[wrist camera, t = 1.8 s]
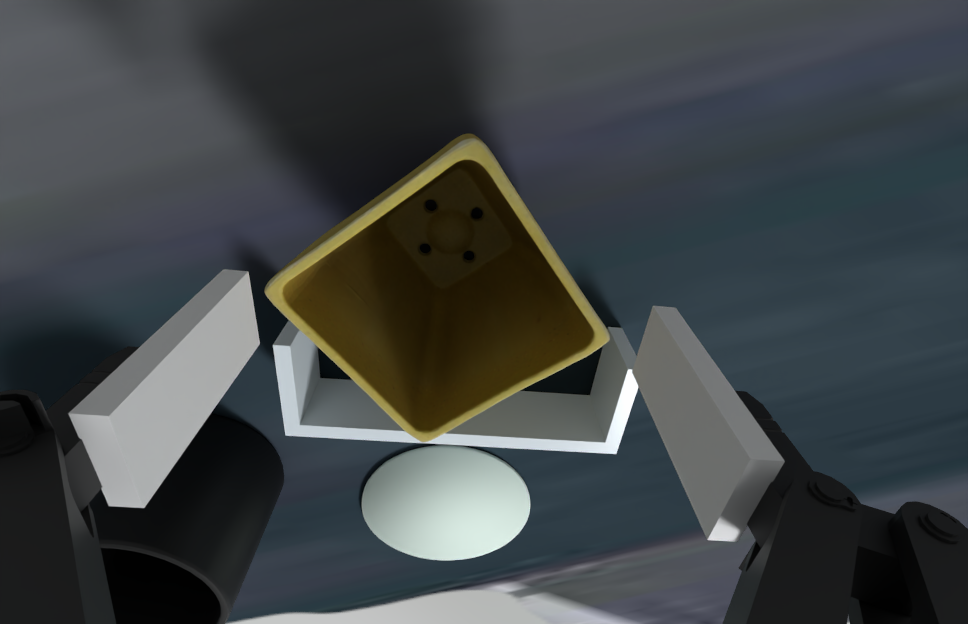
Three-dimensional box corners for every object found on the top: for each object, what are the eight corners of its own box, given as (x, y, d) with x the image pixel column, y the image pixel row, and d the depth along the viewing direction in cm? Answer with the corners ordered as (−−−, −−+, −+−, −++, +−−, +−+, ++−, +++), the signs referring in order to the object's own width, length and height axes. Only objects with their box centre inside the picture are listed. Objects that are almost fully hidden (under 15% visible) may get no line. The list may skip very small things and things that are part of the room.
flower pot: (475, 95, 21) (477, 130, 13) (571, 247, 25) (616, 344, 17) (326, 205, 24) (255, 290, 16) (434, 329, 27) (420, 448, 19)
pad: (364, 553, 37) (363, 557, 37) (359, 440, 31) (359, 443, 31) (517, 559, 38) (518, 563, 38) (542, 450, 32) (542, 453, 32)
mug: (73, 407, 29) (-72, 542, 22) (273, 410, 30) (202, 544, 22) (124, 509, 34) (21, 651, 26) (296, 510, 35) (245, 650, 27)
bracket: (307, 387, 29) (285, 435, 26) (298, 303, 26) (272, 344, 23) (599, 405, 30) (616, 453, 27) (621, 327, 27) (643, 370, 24)
